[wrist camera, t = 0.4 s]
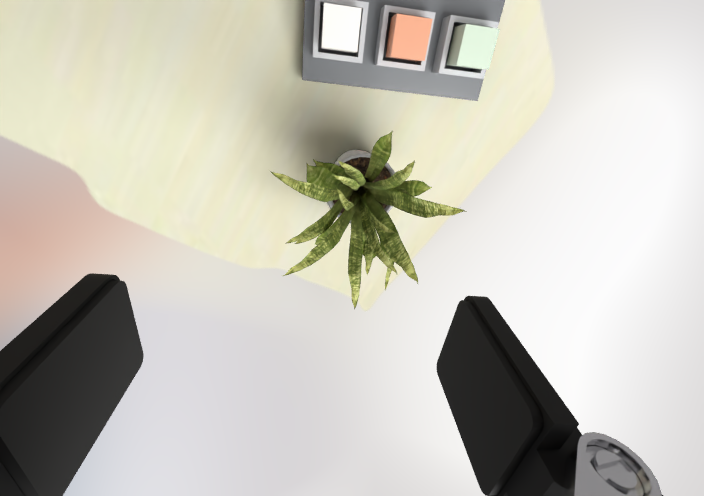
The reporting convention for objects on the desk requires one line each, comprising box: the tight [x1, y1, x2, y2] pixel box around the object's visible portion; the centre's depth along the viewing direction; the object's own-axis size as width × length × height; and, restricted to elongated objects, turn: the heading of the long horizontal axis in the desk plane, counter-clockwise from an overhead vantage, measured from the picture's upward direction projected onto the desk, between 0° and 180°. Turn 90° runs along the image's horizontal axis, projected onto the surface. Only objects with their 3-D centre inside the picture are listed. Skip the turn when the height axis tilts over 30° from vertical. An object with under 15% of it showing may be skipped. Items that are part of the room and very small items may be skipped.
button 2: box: [386, 14, 433, 61], centre depth 26 cm, size 3×3×2 cm
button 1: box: [322, 3, 362, 53], centre depth 26 cm, size 3×3×2 cm
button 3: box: [446, 24, 500, 69], centre depth 27 cm, size 3×3×2 cm
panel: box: [302, 0, 505, 101], centre depth 29 cm, size 8×17×4 cm, turn 84°
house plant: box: [271, 130, 464, 308], centre depth 29 cm, size 14×14×16 cm
